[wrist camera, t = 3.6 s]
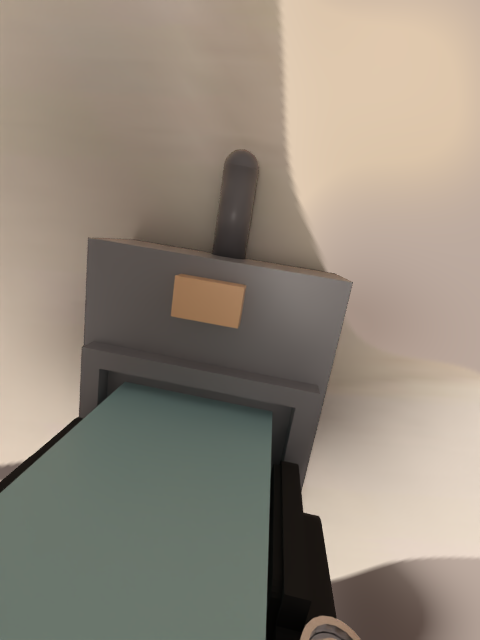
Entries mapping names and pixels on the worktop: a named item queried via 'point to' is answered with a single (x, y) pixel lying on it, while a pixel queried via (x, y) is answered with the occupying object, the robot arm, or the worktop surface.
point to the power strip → (215, 322)
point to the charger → (142, 525)
